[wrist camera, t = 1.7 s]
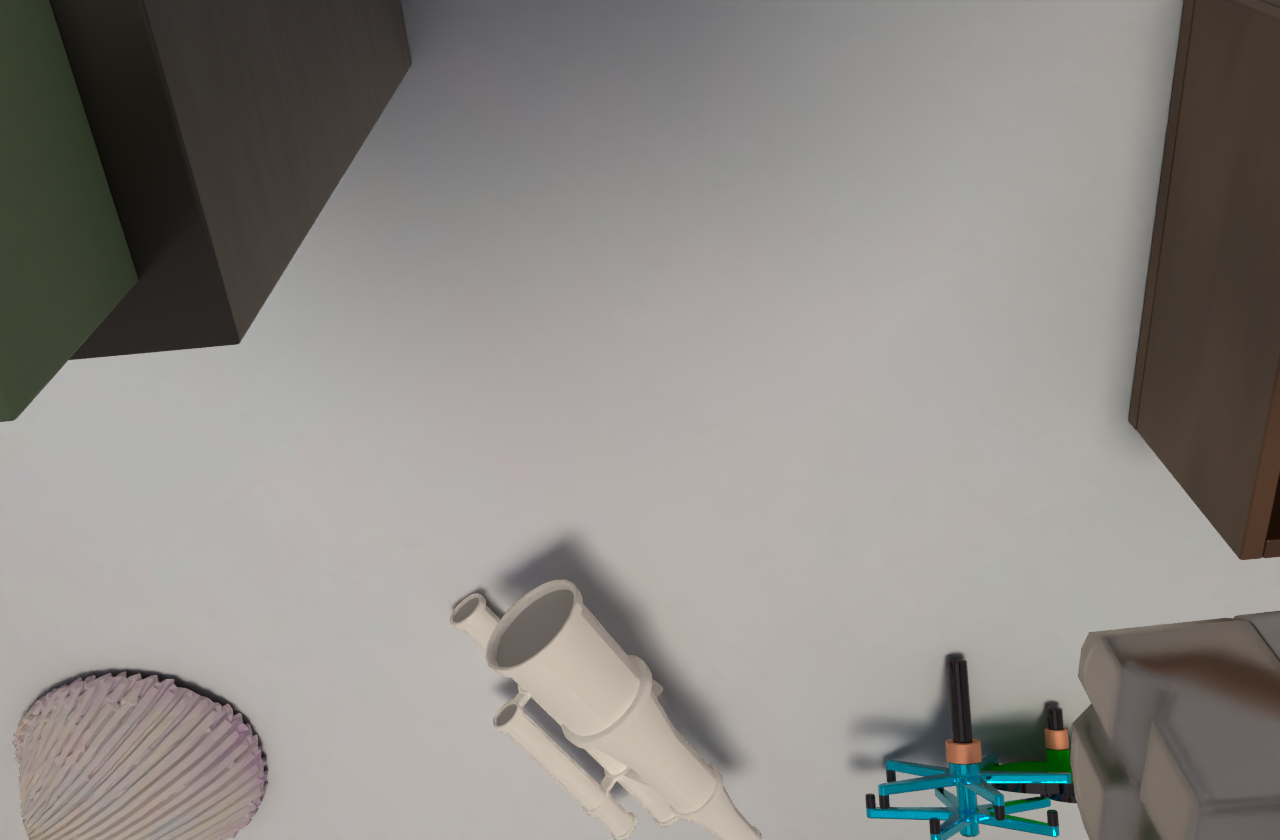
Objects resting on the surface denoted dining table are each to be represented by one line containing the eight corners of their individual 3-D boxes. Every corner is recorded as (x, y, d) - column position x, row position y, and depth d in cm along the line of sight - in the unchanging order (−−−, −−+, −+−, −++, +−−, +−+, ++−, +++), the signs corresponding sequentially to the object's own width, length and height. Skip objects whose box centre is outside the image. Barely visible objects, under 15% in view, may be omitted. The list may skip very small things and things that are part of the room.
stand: (119, -164, 33) (-415, -80, 16) (366, -189, 33) (105, -131, 16) (188, 86, 37) (-188, 385, 19) (412, 65, 36) (240, 345, 19)
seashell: (-82, 796, 47) (77, 732, 42) (2, 692, 51) (153, 625, 47) (104, 941, 51) (266, 896, 46) (166, 833, 55) (319, 783, 51)
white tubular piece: (694, 754, 53) (627, 856, 51) (498, 551, 48) (413, 656, 45) (818, 796, 47) (748, 915, 45) (609, 567, 41) (517, 691, 39)
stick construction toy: (833, 826, 50) (940, 875, 43) (822, 660, 51) (926, 680, 43) (1063, 790, 54) (1196, 829, 47) (1051, 637, 55) (1180, 652, 48)
